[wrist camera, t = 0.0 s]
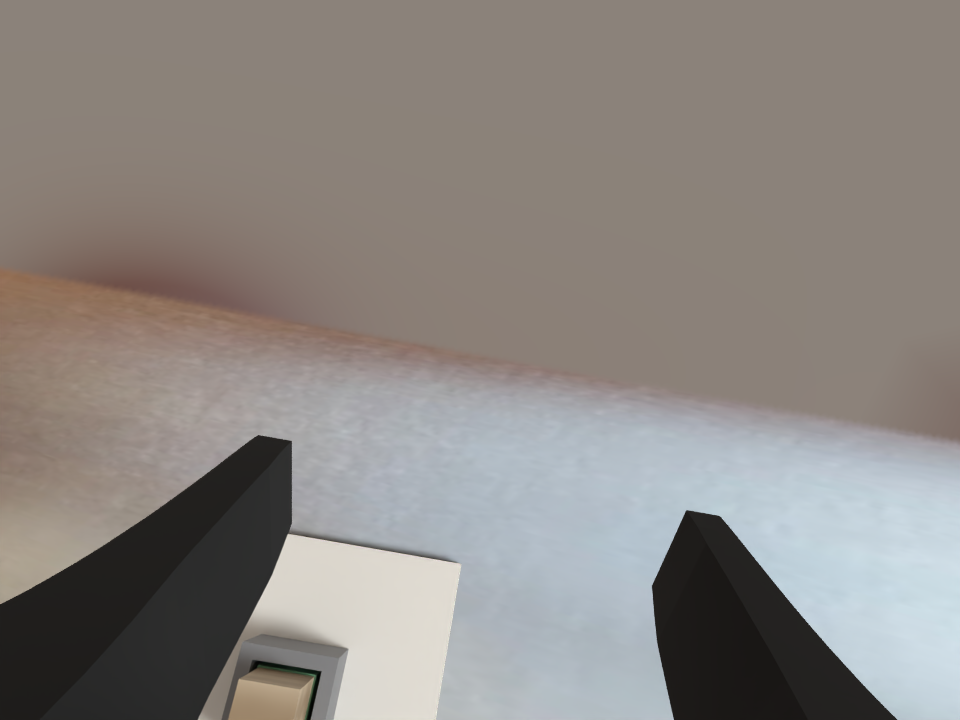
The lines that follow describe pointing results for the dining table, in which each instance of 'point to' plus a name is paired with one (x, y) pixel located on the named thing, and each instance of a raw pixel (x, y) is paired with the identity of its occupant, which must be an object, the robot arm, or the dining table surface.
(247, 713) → the post
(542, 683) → the dining table surface
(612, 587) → the dining table surface
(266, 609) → the stand base
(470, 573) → the dining table surface
